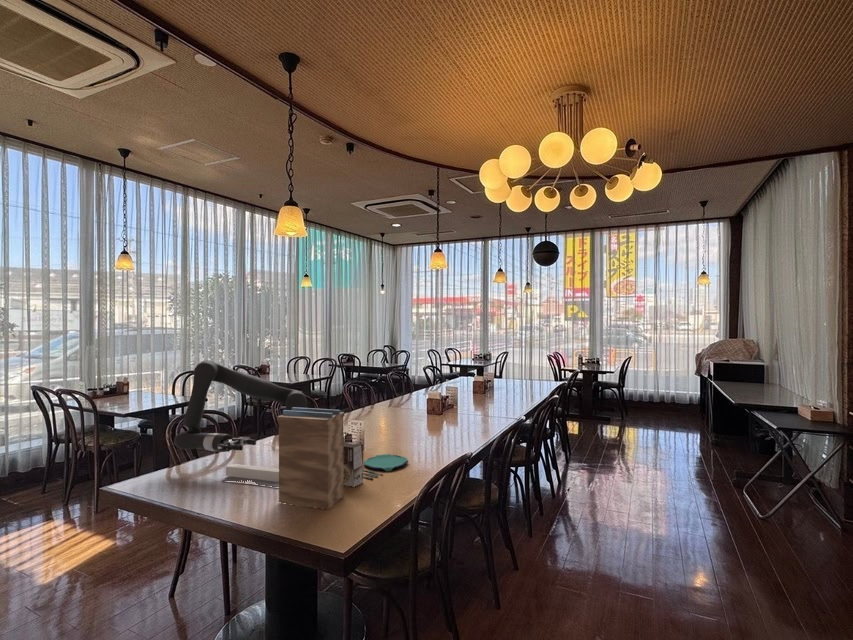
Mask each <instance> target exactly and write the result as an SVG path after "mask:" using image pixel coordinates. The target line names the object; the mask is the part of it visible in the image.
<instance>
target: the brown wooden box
mask: <svg viewBox="0 0 853 640" xmlns="http://www.w3.org/2000/svg"><path fill="white" fill-rule="evenodd" d="M345 414H346V413H345V411H341V410H340V409H331V408H330V409H328V408H313V407H311V408H310V407H307V408H298V407H293V408H292V410H286V409H283V410H282V414H281V415H278V416H277V417H276V421H277V422H278V468H279V488H278V503H279V502H281V503H286V504H292V505H291V506H294V505H298V506H297V507H301V506H307V507H306V508H309V507H316V508H315V509H317V508H323V509H322V510H325V509H328V510H330V509H331V508H332V507H333V506H335V505H336V504H337V503H338V502H340V499H341V498H342V499H343V498H344V485H343V443H344V417H346V415H345ZM342 499H341V500H342ZM336 502H337V503H336ZM335 503H336V504H335ZM286 504H285V505H286ZM334 504H335V505H334ZM330 507H331V508H330ZM329 508H330V509H329Z"/></svg>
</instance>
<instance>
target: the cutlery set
mask: <svg viewBox="0 0 853 640" xmlns="http://www.w3.org/2000/svg"><path fill="white" fill-rule="evenodd" d="M407 463H409V460H408V459H407V457H405V456H401V455H395V454H389V453H385V454H378V455H375V456H372V457H369V458H367V459H365V460H363V467H367V468H369V469H372V470H367V469H364V468H363V477H364V478H363V479H366V478H368V479H367V480H371V479H373V480H374V477H375V478H378V477H379V475H381V476H383V475H384V473H379V472H376V471H374V470H384V471H385V472H387V471H390V472H391V471H392V470H393V469H398V468H400V467H403V466H405V465H406V464H407ZM365 465H366V466H365ZM373 469H374V470H373ZM366 471H368V472H366ZM369 472H371V473H369ZM366 474H367V476H365V475H366ZM371 476H372V477H371Z"/></svg>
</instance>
